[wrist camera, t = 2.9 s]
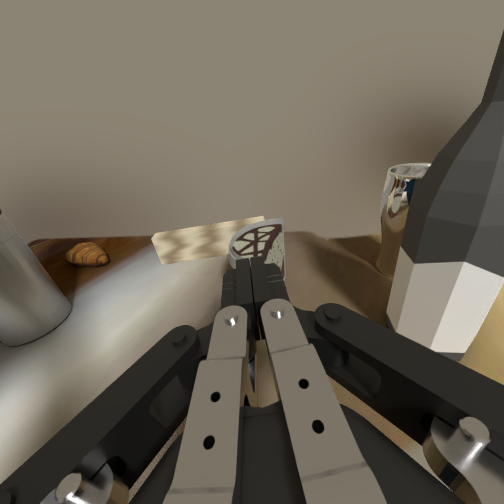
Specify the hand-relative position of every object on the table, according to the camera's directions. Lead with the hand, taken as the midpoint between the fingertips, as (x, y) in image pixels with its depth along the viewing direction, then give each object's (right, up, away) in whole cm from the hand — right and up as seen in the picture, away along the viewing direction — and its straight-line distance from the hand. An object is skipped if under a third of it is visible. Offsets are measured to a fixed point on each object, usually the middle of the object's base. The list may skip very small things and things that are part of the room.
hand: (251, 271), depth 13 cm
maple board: (-8, +1, +36) cm, 37 cm away
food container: (+1, -5, +24) cm, 24 cm away
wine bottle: (+20, -8, +14) cm, 26 cm away
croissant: (-38, -2, +42) cm, 56 cm away
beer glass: (+23, -2, +24) cm, 33 cm away
